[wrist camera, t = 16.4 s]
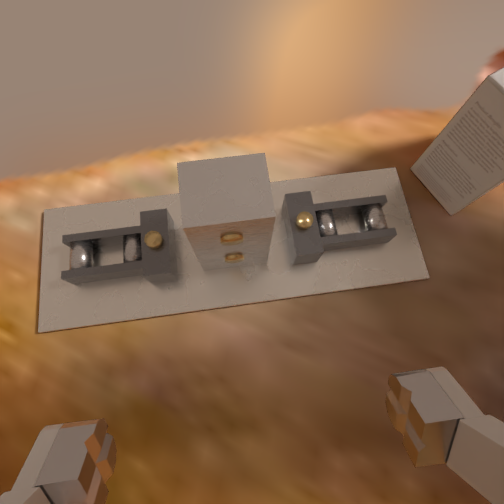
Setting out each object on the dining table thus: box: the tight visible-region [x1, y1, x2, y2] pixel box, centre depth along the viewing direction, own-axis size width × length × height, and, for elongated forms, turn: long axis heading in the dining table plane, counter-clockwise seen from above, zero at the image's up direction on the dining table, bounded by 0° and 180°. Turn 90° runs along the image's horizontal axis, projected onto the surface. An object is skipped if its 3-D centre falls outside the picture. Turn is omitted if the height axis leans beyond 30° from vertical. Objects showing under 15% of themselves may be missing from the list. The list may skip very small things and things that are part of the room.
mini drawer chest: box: [177, 153, 276, 271], centre depth 23 cm, size 5×4×9 cm
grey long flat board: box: [38, 167, 430, 333], centre depth 26 cm, size 30×10×4 cm, turn 98°
